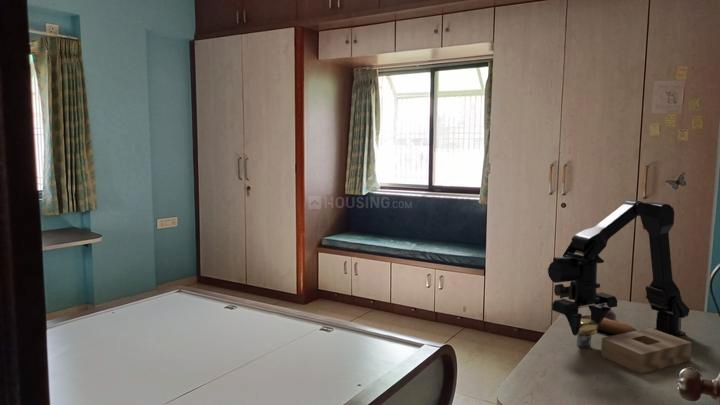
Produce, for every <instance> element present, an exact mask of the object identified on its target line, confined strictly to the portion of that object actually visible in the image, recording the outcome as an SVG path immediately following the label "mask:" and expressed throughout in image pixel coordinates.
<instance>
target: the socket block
mask: <svg viewBox="0 0 720 405" xmlns="http://www.w3.org/2000/svg"><path fill="white" fill-rule="evenodd" d="M636 330H637V331H632V332H628V333H623V334H618V335H615V334H613V335H610V336H606V337H602V338H601V357H603V358H605V359H607V360H610V361H611V362H614V363H616V364H618V365H620V366H623V367H624V368H627V369H629V370H631V371H634V372H636V373H637V374H640V375H642V374H646V373H650V372H653V371H657V370H661V369H665V368H668V367H672V366H676V365H680V363H681V364H683V363H682V362H685V363H687V362H686V361H688V362H691V361H692V342H691V341H689V340H686V339H683V338H680V337H679V336H676V337H675V336H672V335H669V334H666V333H664V332H661V331H658V330H655V329H654V328H653V327H648V328H642V329H636ZM690 360H691V361H690Z"/></svg>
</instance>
